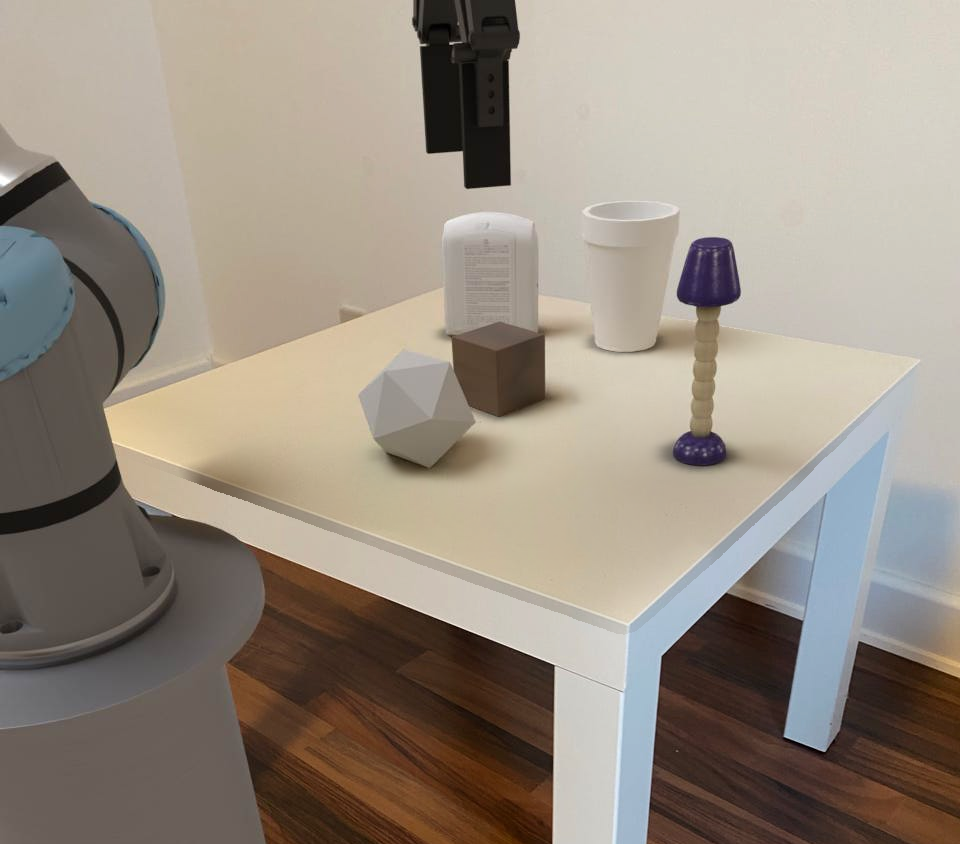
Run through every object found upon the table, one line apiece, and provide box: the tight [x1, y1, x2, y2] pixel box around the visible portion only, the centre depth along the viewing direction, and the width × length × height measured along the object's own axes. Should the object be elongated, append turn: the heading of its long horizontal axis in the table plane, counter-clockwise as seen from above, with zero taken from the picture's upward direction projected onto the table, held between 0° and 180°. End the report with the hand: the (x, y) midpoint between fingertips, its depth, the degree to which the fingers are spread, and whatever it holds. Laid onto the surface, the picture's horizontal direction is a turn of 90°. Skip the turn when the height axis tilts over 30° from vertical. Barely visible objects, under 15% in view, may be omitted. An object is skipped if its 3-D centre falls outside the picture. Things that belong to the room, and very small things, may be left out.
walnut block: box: [451, 322, 546, 417], centre depth 92 cm, size 6×6×6 cm
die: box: [357, 348, 477, 469], centre depth 82 cm, size 8×9×10 cm
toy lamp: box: [672, 236, 742, 466], centre depth 77 cm, size 5×5×17 cm
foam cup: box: [580, 199, 681, 353], centre depth 102 cm, size 10×9×13 cm
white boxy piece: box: [441, 211, 539, 336], centre depth 107 cm, size 10×4×12 cm, turn 81°
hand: (464, 168), depth 66 cm, fingers open, 13 cm apart
